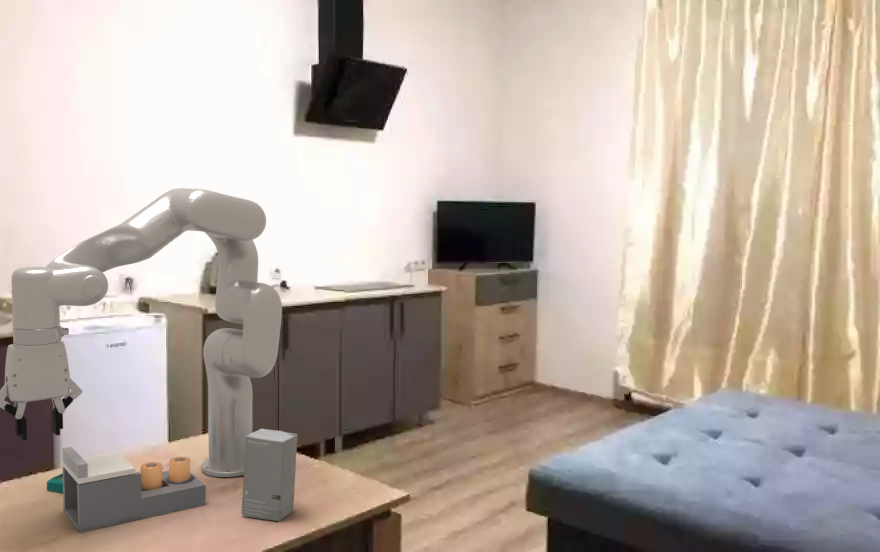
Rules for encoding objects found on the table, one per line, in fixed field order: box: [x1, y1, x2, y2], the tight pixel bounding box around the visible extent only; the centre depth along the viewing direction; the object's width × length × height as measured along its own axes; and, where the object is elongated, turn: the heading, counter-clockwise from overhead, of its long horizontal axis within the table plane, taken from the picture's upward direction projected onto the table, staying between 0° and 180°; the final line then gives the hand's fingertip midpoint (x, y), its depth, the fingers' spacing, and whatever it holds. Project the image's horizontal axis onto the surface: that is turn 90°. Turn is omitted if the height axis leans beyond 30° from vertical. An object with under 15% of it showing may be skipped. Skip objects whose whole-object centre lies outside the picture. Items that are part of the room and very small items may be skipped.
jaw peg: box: [139, 461, 163, 491], centre depth 159 cm, size 4×4×8 cm
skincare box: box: [241, 428, 298, 522], centre depth 156 cm, size 8×7×16 cm
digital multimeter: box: [46, 472, 63, 494], centre depth 172 cm, size 7×15×3 cm, turn 167°
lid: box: [61, 446, 136, 484], centre depth 153 cm, size 10×12×4 cm
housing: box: [62, 456, 207, 533], centre depth 157 cm, size 24×12×9 cm, turn 128°
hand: (39, 435), depth 146 cm, fingers open, 4 cm apart
